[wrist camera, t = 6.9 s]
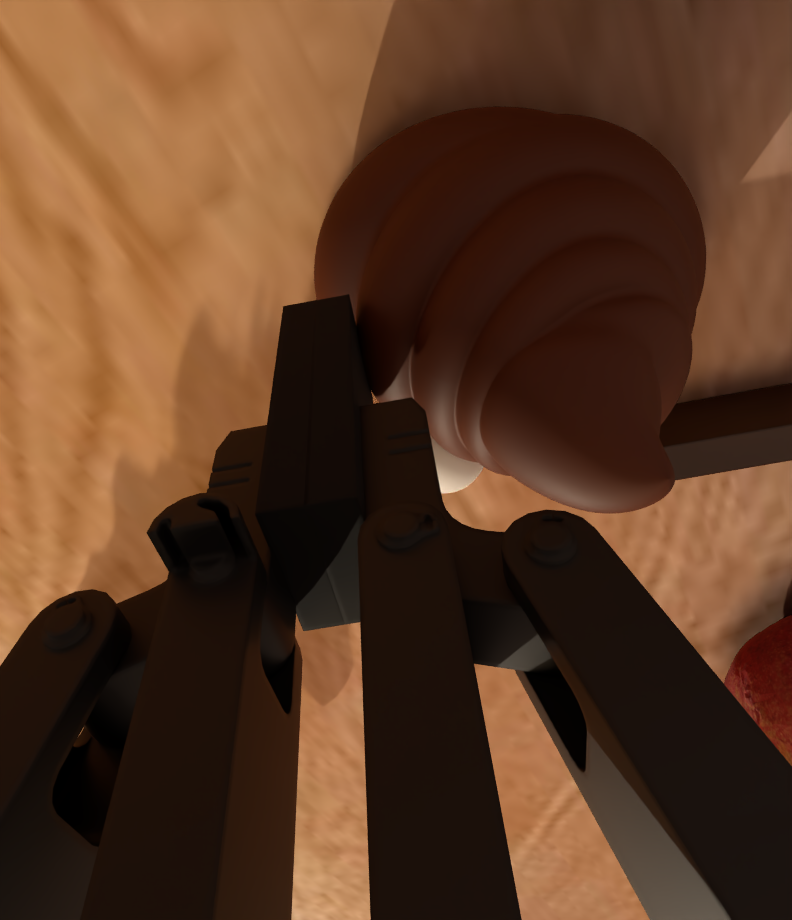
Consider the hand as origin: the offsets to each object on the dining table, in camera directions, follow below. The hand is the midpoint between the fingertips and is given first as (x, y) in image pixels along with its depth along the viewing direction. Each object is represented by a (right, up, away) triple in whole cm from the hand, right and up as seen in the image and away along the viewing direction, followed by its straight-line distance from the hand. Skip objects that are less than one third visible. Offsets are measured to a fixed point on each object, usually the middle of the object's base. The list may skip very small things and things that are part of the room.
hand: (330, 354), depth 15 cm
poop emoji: (+4, +3, +3) cm, 6 cm away
